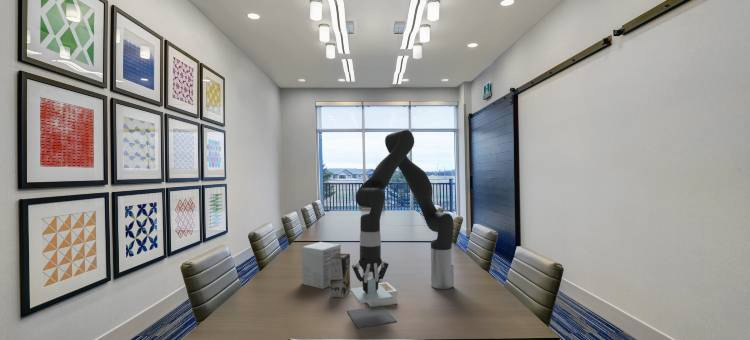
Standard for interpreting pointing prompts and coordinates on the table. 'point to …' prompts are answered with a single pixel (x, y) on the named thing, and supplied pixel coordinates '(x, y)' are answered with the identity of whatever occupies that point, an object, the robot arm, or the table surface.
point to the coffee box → (339, 275)
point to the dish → (394, 300)
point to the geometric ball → (372, 273)
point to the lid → (370, 292)
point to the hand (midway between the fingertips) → (370, 291)
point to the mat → (371, 316)
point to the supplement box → (318, 263)
